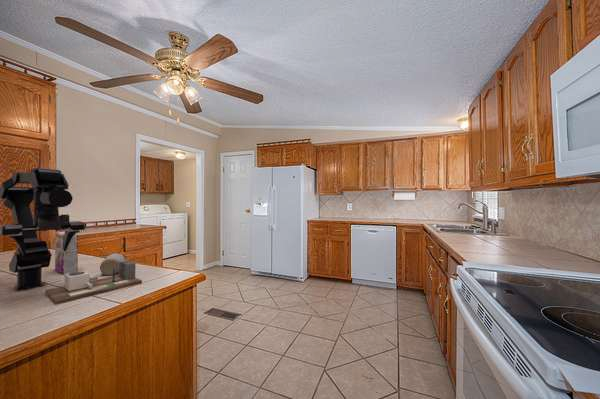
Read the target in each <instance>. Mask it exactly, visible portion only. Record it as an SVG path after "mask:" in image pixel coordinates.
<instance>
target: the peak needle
mask: <svg viewBox="0 0 600 399" xmlns="http://www.w3.org/2000/svg"><path fill="white" fill-rule="evenodd" d="M112 276H113V280H112V282H113V283H115V276H116V274H115V269H113V275H112Z"/></svg>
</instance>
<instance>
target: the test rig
mask: <svg viewBox="0 0 600 399" xmlns="http://www.w3.org/2000/svg"><path fill="white" fill-rule="evenodd" d="M136 266H137V265H136V262H134V261H131V260H128V259H126V260H125V261H119V272H118V274H117V275H115V283H113V282H112V280H113V275H111V276H109V277H103V278H98V279H97V280H92V281H89V283H91V284H92V285H93V287H92V288H89V287H86V288H82V289H77V290H73V291H68V290H67V289H66V288H65V287H64V286H60V287H55V288H51V289H45V294H46V296H47V297H48V298H49V299H50V300H51V301H52V303H53V304H54V305H58V304H62V303H67V302H71V301H76V300H79V299H84V298H87V297H91V296H95V295H99V294H104V293H108V292H113V291H117V290H120V289H124V288H128V287H129V288H130V287H132V286H136V285H137V286H138V285H141V284H142V283H143V280H141V279H139V278H137V277H136Z"/></svg>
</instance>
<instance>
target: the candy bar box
mask: <svg viewBox="0 0 600 399" xmlns="http://www.w3.org/2000/svg"><path fill="white" fill-rule="evenodd" d="M64 234H65V231H61V232H54V271H56V272H57V273H59V274H62V276H63V275H65V274H67V273H73V272H78V271H79V270H78V264H79V263H78V254H79V253H78V252H79V248H78V246H79V245H78V244H79V243H78V242H79V240H78V239H79V238H78V236H79V235H78V233H76V234H75V235H74V236H73V237H72V239H71V241H70V243H69V245H68V247H67V249H66V251H63V243H64Z"/></svg>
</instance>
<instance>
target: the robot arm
mask: <svg viewBox="0 0 600 399" xmlns="http://www.w3.org/2000/svg"><path fill="white" fill-rule="evenodd" d="M17 184H27V185H28V184H29V185H31V187H30V186H16V185H17ZM68 190H69V182H68V180H67V179H66V176H65V174H64V173H62V171H61V170H60V169H54V168H53V169H51V168H40V167H33V168H31V169H29V171H28V172H27V171H25V172H21V171H16V172H13V173H12V176H11V177H10V178H8V179H7V180H5V181H3V182H1V185H0V199H1V202H2V204H3V206H5V207H6V208H7V209H9V210H11V211H10V212H11V214H12V219H13V222H14V223H12V224H11V223H10V224H9V223H8V224H2V225H1V226H0V235H1V236H6V237H7V238H12V239H13V240H14V241H15V242H16V244H17V248H16V249H15V251H14V252H13V256H12V258H11V260H10V262H9V264H8V269H9V270H8V271H10V272H11V273H16V275H17V276H16V277H17V278H16V284H15V285H13V287H14V290H16V291H17V292H18V291H23V290H27V289H28V290H29V289H32V288H38V287H43V286H45V283H44V282H43V281H42V276H43V275H42V274H43V273H42V270H43V269H42V268H49V267H50V264H51V259H52V253H51V250H49V248H48V244H47V241H45V240H40V239H39V237H38V234H37V232H38V231H39V232H40V231H41V232H47V231H53V230H54V231H59V230H64V232H65V234H64V243H63V251H66V249H67V247H68V245H69V243H70V241H71V239H72V237H73V236H74V235H75V234H78V233H80V231H84V230H86V223H85V222H84V221H82V220H81V221H80V220H79V221H78V220H77V221H76V220H75V221H74V220H73V221H70V215H69V214H60V213H59V211H60V210H59V208H64V207H65V208H66V207H68V206H69V205H70V204H71V203H72V202H73V199H74V198H73V195H72V193H71V192H70V191H68ZM32 203H33V211H32V210H31V205H32ZM32 212H33V213H32Z"/></svg>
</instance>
